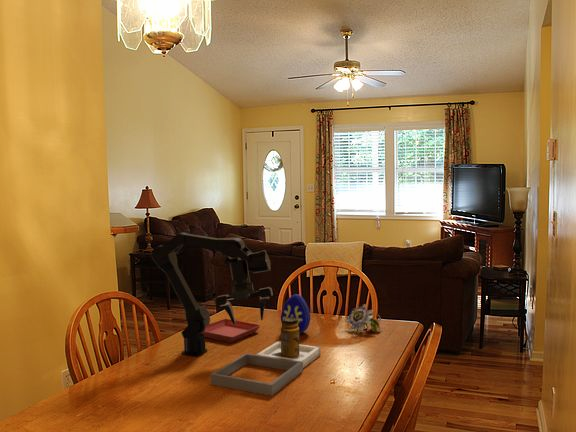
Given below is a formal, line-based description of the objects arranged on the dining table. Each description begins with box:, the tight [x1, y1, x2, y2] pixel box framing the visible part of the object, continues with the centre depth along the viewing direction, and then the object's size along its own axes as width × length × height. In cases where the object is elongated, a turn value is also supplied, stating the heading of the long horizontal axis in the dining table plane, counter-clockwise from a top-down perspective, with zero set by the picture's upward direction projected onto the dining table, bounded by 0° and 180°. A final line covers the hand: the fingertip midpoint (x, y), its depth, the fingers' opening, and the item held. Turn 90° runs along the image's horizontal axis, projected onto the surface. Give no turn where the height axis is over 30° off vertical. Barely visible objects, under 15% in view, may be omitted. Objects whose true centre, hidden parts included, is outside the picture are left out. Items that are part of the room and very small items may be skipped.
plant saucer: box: [202, 318, 261, 343], centre depth 199 cm, size 18×18×3 cm
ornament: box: [280, 293, 311, 334], centre depth 199 cm, size 11×9×15 cm
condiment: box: [271, 318, 305, 359], centre depth 170 cm, size 7×8×12 cm
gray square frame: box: [209, 352, 304, 397], centre depth 154 cm, size 20×20×3 cm
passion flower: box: [344, 303, 382, 334], centre depth 202 cm, size 11×11×12 cm
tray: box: [255, 340, 321, 369], centre depth 171 cm, size 16×15×2 cm
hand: (248, 322), depth 172 cm, fingers open, 9 cm apart
